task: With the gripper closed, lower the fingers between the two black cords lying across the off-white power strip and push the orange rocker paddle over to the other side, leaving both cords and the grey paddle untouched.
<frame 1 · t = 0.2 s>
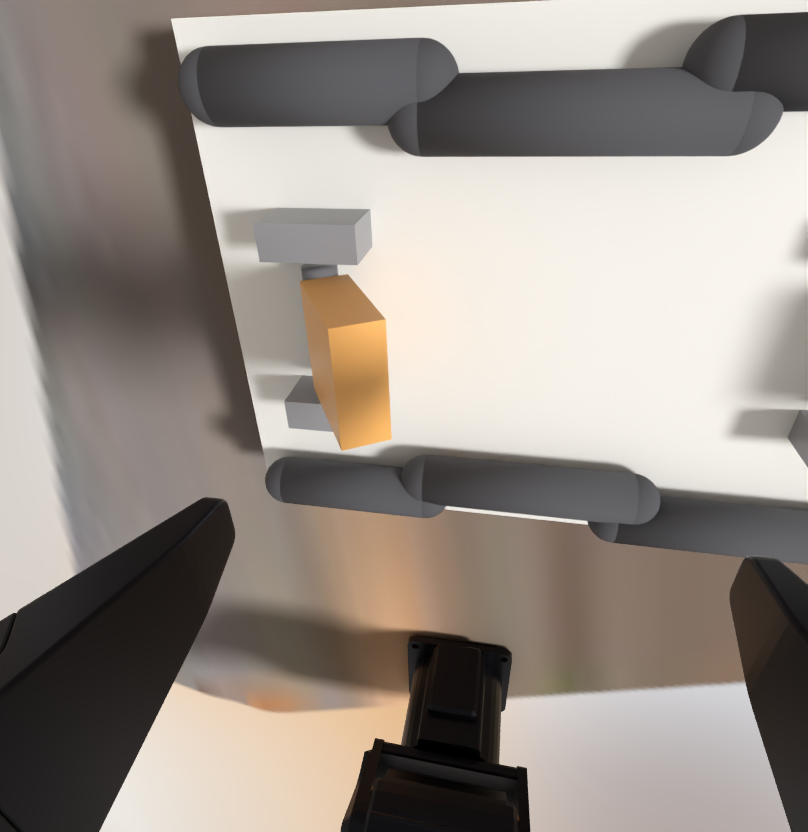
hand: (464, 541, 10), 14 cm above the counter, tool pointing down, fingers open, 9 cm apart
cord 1: (591, 89, 15), point 3 cm above the counter, touching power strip
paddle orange: (340, 351, 18), point 6 cm above the counter, hinge at -30.3°
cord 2: (536, 482, 23), point 3 cm above the counter, touching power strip
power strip: (554, 295, 21), on the counter
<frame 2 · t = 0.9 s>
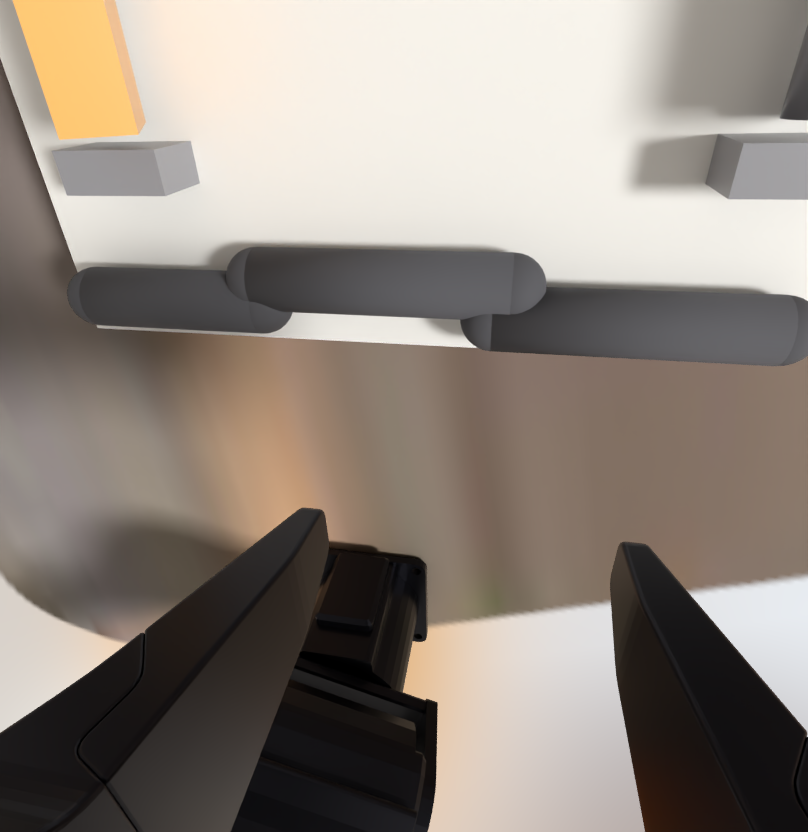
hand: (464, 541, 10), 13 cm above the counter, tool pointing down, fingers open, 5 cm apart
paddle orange: (83, 33, 13), point 6 cm above the counter, hinge at -30.3°
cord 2: (402, 287, 18), point 3 cm above the counter, touching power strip
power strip: (413, 30, 16), on the counter
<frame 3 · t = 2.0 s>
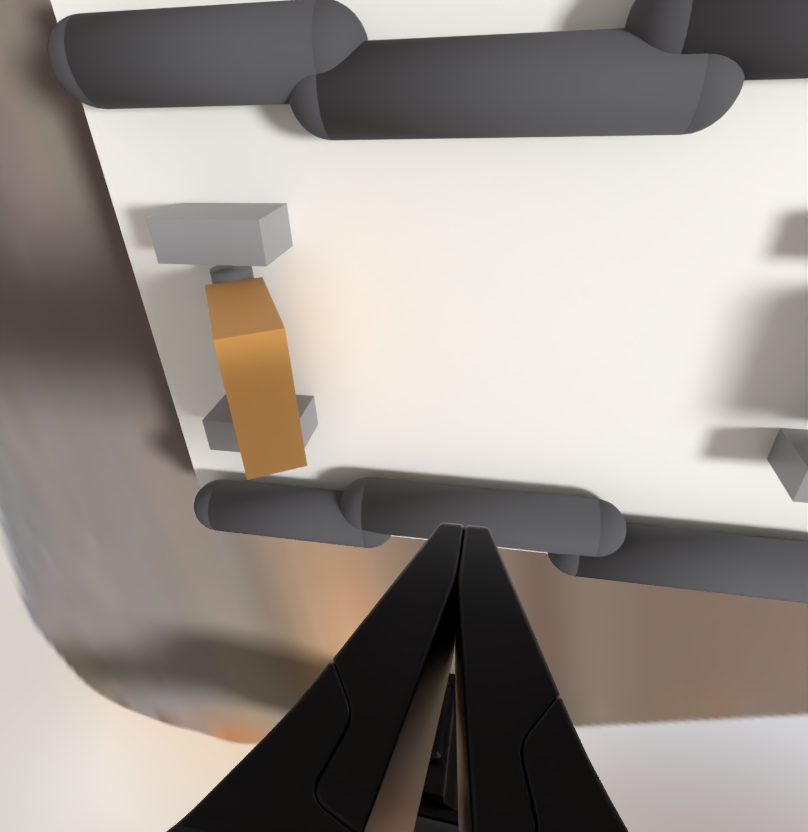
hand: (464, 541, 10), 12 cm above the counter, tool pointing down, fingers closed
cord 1: (524, 60, 13), point 3 cm above the counter, touching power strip
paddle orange: (252, 364, 15), point 6 cm above the counter, hinge at -30.3°
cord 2: (492, 507, 20), point 3 cm above the counter, touching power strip
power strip: (507, 300, 19), on the counter
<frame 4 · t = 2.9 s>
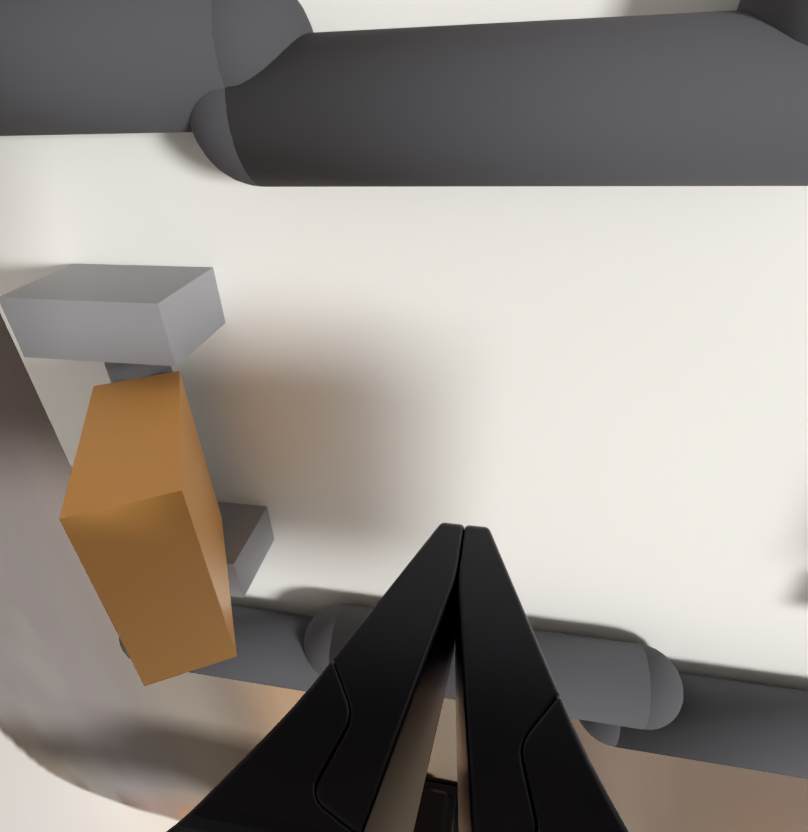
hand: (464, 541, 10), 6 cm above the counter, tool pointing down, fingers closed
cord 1: (561, 64, 8), point 3 cm above the counter, touching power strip
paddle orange: (163, 497, 11), point 6 cm above the counter, hinge at -30.3°
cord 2: (501, 641, 16), point 3 cm above the counter, touching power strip
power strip: (522, 380, 14), on the counter
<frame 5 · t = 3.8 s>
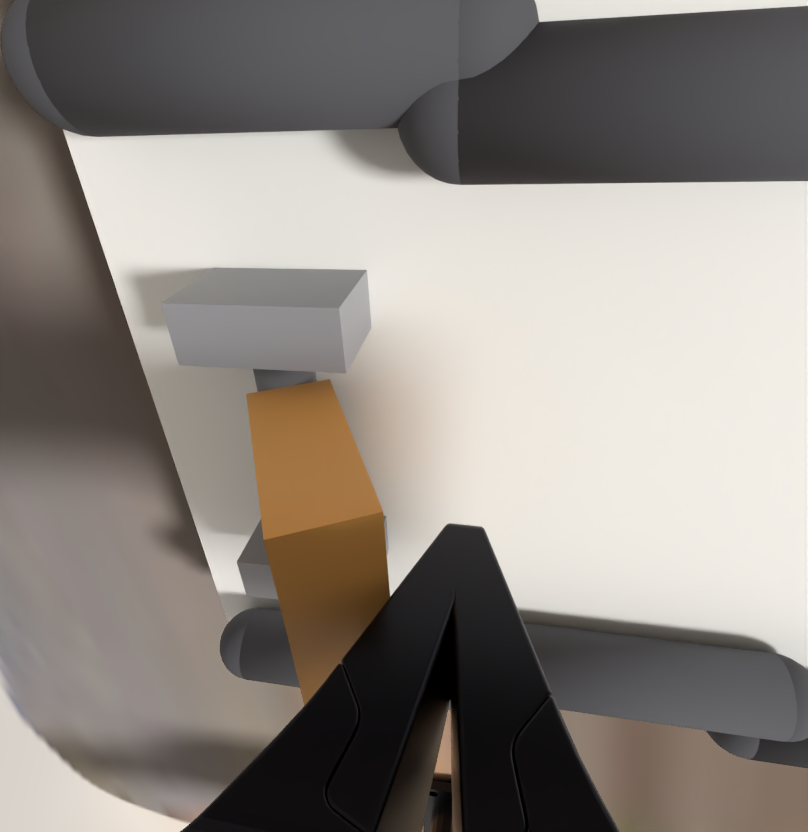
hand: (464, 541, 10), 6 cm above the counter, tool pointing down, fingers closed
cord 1: (786, 54, 8), point 3 cm above the counter, touching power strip
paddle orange: (313, 511, 10), point 6 cm above the counter, hinge at -26.9°, touching gripper
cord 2: (618, 651, 15), point 3 cm above the counter, touching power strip
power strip: (647, 382, 14), on the counter
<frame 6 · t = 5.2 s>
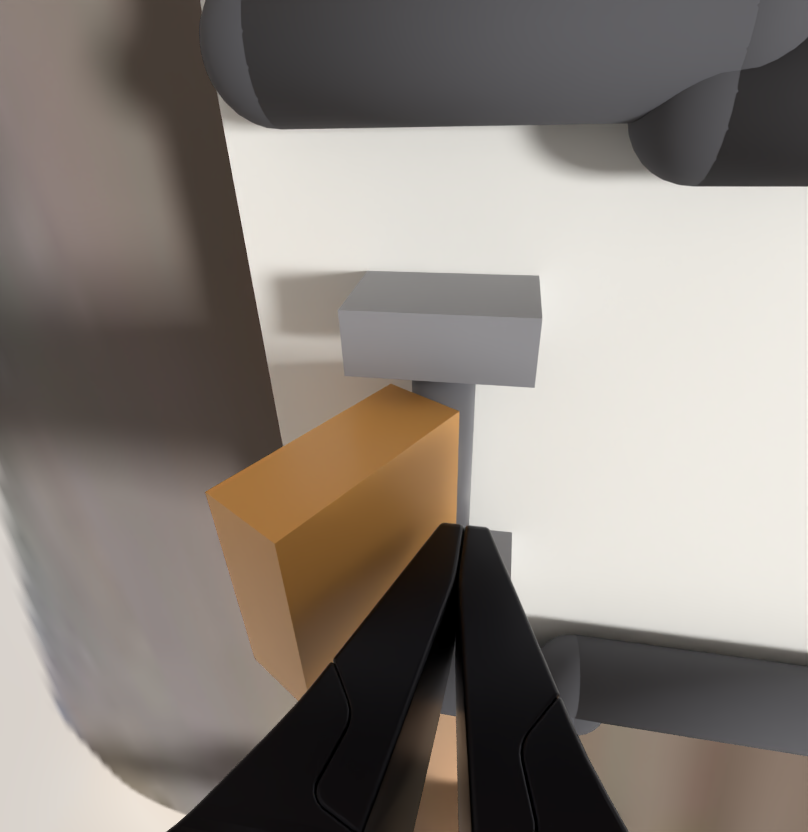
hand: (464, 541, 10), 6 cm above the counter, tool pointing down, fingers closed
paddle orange: (377, 520, 10), point 6 cm above the counter, hinge at 30.3°
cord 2: (741, 675, 15), point 3 cm above the counter, touching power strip
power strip: (788, 396, 13), on the counter
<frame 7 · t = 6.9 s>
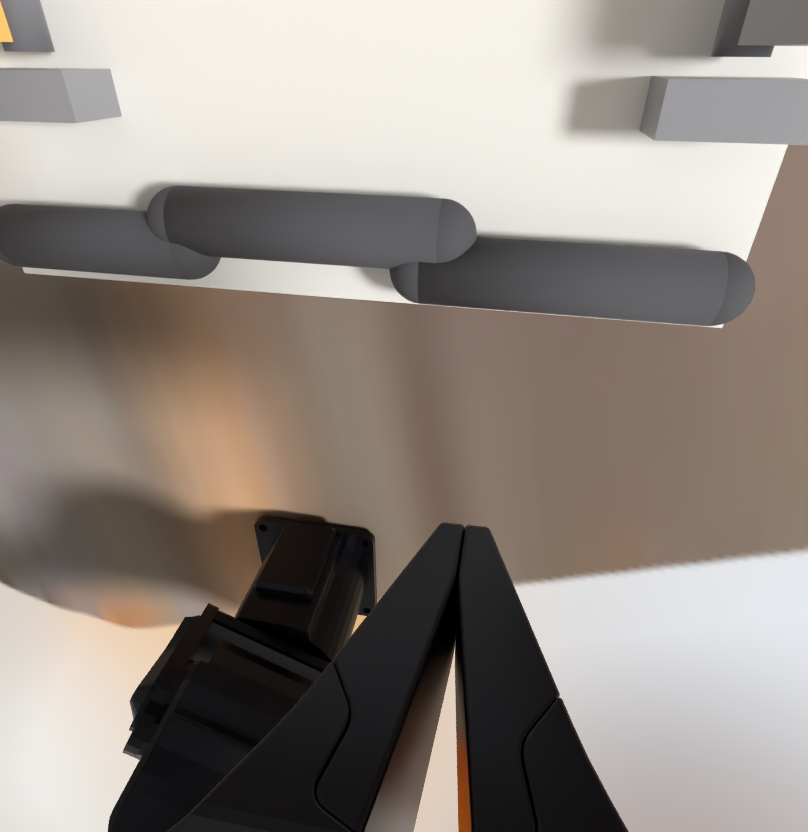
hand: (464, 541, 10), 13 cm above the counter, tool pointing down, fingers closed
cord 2: (334, 236, 17), point 3 cm above the counter, touching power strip
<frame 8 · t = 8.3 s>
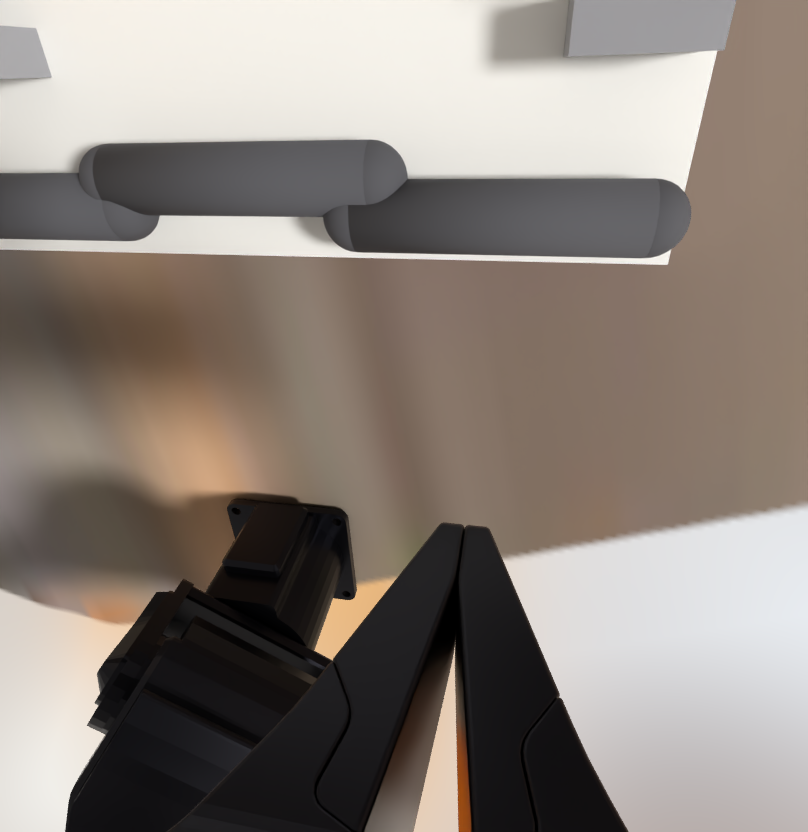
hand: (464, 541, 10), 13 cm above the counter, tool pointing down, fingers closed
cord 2: (271, 191, 17), point 3 cm above the counter, touching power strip
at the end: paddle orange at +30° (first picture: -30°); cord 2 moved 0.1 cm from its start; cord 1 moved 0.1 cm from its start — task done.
